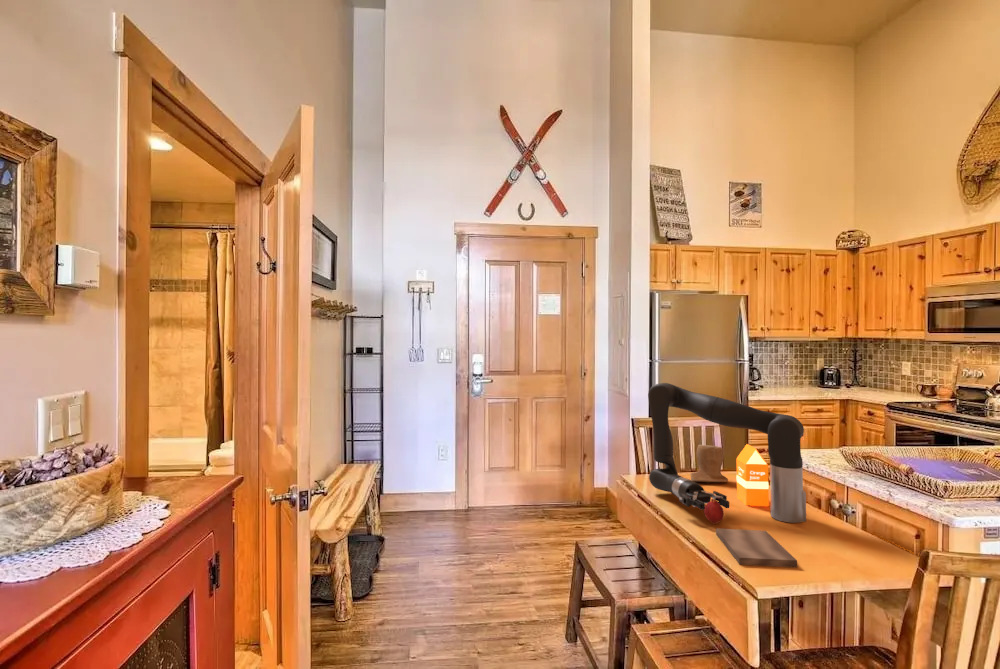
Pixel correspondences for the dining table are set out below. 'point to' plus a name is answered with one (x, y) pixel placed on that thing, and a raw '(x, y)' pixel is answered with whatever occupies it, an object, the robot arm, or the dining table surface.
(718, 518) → the onion
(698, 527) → the dining table surface
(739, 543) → the cutting board
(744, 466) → the orange juice
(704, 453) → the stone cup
